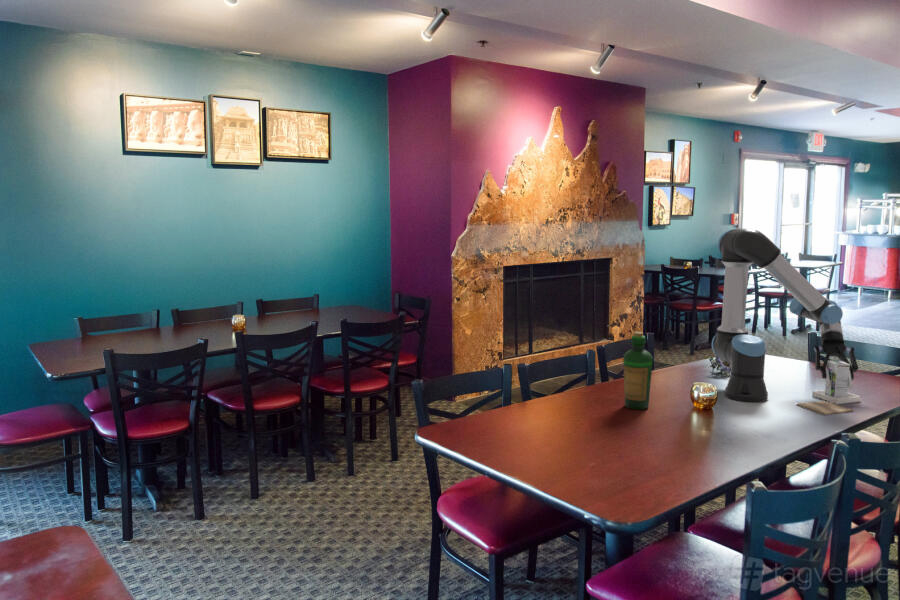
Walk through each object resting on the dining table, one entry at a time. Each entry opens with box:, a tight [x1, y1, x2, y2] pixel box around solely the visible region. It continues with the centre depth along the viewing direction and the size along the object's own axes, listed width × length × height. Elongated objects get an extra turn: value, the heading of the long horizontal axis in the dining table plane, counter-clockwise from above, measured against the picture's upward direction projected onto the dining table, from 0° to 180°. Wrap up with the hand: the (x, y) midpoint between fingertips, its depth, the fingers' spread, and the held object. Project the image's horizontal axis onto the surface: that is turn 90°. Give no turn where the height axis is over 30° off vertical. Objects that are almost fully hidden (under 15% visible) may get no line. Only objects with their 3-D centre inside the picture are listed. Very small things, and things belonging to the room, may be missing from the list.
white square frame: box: [811, 389, 862, 405], centre depth 243 cm, size 11×11×2 cm
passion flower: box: [709, 355, 731, 377], centre depth 283 cm, size 11×11×12 cm
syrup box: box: [824, 359, 851, 398], centre depth 243 cm, size 6×6×14 cm
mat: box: [796, 400, 854, 416], centre depth 232 cm, size 13×12×1 cm
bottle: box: [622, 331, 654, 411], centre depth 235 cm, size 11×11×28 cm
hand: (839, 386), depth 239 cm, fingers closed on syrup box, 6 cm apart
